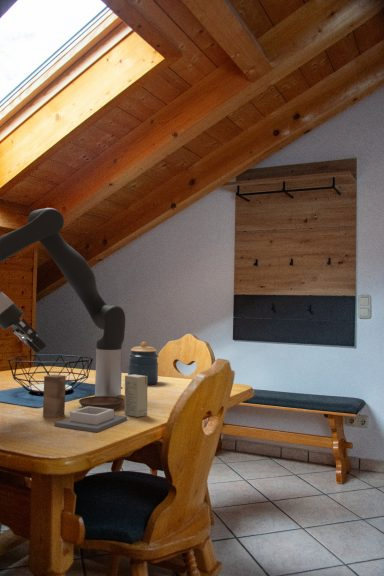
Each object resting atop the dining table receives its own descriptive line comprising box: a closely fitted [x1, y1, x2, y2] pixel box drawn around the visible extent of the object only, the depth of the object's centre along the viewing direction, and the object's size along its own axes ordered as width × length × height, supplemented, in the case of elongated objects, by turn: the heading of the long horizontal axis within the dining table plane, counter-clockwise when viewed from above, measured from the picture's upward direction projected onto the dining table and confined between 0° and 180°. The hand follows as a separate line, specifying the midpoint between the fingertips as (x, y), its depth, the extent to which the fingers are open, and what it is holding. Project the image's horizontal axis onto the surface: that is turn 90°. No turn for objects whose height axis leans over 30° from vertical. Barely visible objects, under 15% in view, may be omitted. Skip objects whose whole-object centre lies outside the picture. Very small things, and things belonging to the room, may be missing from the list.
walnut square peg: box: [42, 374, 67, 419], centre depth 155 cm, size 4×4×12 cm
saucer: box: [78, 395, 125, 410], centre depth 168 cm, size 15×15×3 cm
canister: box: [127, 341, 159, 386], centre depth 217 cm, size 13×13×18 cm
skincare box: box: [124, 374, 148, 418], centre depth 159 cm, size 6×4×12 cm
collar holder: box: [53, 406, 128, 433], centre depth 147 cm, size 16×14×4 cm
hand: (41, 349), depth 155 cm, fingers open, 8 cm apart
